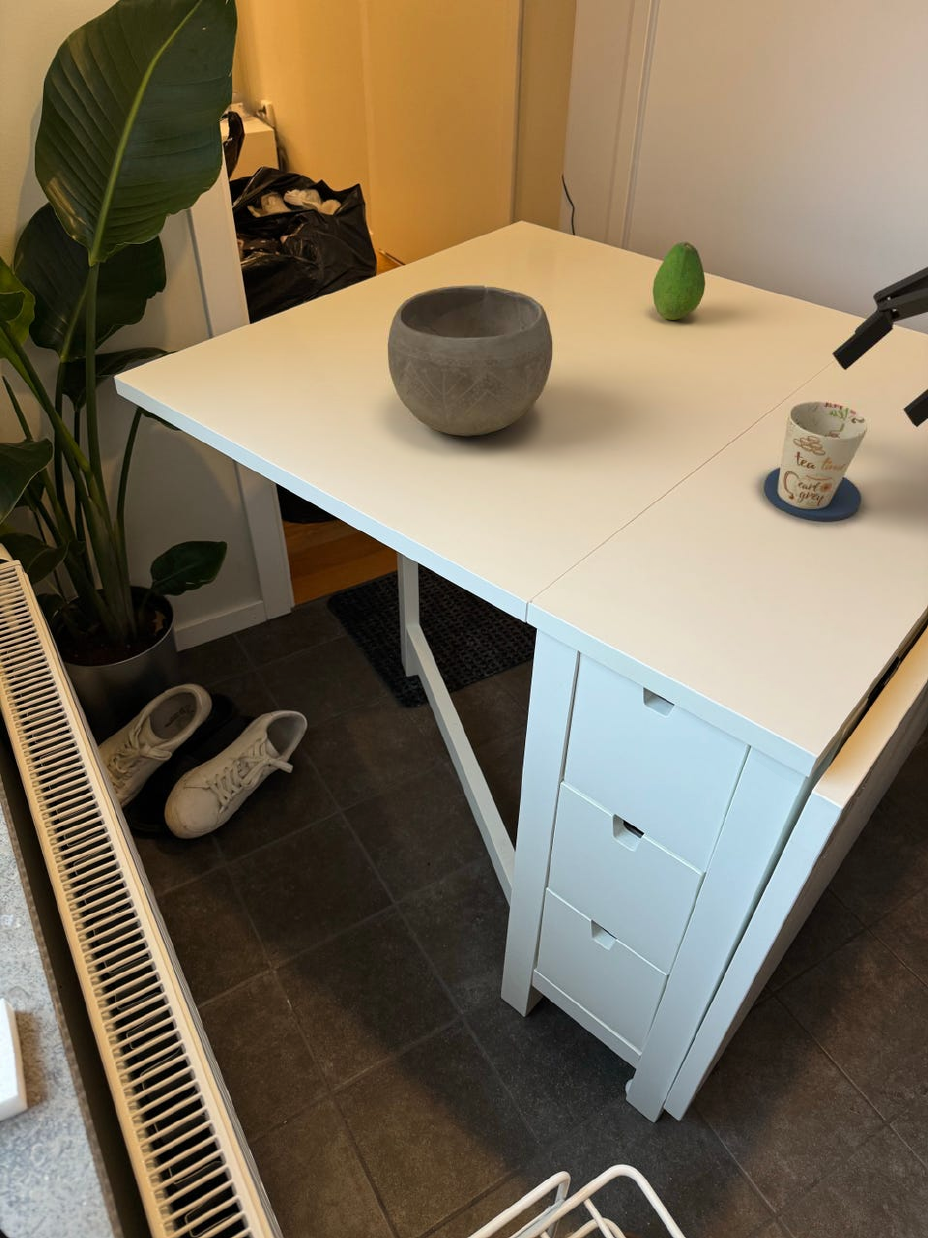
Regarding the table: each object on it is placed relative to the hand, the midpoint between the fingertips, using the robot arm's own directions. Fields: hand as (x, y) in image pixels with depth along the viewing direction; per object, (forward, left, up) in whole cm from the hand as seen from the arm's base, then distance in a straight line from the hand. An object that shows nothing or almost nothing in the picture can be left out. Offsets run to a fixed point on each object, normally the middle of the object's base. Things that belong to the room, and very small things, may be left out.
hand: (872, 388), depth 98 cm
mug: (+1, +3, -13) cm, 13 cm away
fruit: (+50, -15, -14) cm, 54 cm away
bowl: (+36, +31, -14) cm, 49 cm away
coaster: (+1, +3, -13) cm, 14 cm away
